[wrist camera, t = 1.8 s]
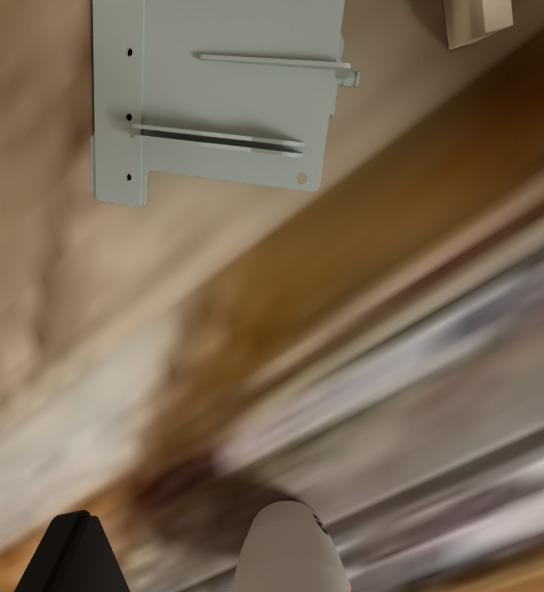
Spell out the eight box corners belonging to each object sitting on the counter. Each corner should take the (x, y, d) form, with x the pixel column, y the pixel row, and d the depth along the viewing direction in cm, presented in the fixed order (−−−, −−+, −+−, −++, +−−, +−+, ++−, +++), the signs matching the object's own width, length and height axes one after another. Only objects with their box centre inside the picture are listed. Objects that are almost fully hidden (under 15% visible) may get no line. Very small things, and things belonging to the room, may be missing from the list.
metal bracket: (383, -170, 16) (324, 241, 21) (386, -90, 22) (338, 224, 27) (39, -159, 19) (55, 200, 24) (116, -91, 25) (117, 192, 30)
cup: (323, 577, 35) (348, 738, 26) (219, 561, 34) (205, 721, 25) (354, 493, 33) (394, 637, 23) (243, 473, 32) (238, 614, 22)
